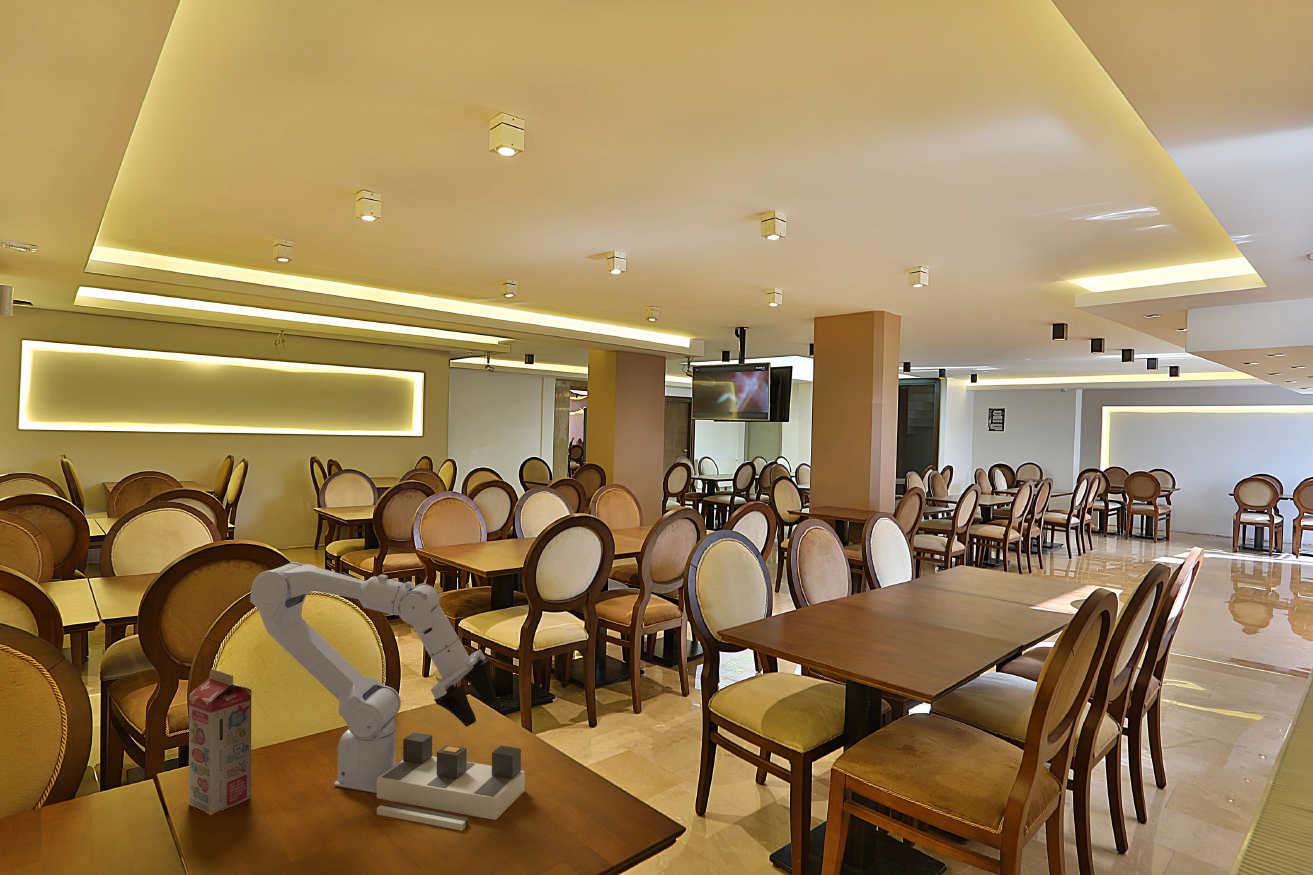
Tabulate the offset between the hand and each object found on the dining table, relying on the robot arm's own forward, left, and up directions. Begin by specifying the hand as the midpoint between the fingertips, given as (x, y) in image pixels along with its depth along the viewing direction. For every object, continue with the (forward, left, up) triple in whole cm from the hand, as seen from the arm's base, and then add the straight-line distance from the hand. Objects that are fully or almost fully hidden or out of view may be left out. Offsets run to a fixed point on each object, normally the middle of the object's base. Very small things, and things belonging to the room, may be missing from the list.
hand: (482, 712), depth 128 cm
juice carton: (-39, -19, -13) cm, 45 cm away
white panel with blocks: (-3, -5, -13) cm, 14 cm away
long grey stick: (-3, -13, -13) cm, 19 cm away
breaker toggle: (-3, -5, -9) cm, 11 cm away
